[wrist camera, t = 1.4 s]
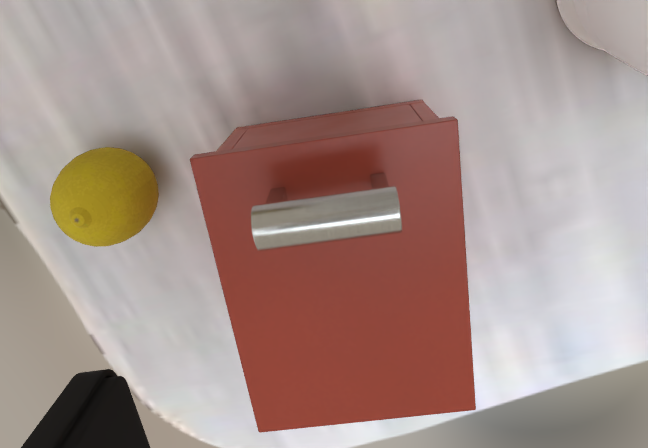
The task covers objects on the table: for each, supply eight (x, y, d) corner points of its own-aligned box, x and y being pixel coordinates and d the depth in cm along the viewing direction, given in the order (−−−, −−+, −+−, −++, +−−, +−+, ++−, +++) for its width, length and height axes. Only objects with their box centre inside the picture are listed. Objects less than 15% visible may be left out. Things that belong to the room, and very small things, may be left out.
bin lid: (193, 154, 24) (154, 193, 19) (454, 115, 24) (486, 145, 18) (260, 422, 30) (244, 508, 25) (472, 399, 29) (501, 484, 24)
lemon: (126, 117, 34) (67, 147, 26) (190, 180, 35) (151, 225, 28) (72, 172, 35) (2, 215, 28) (135, 231, 37) (84, 286, 29)
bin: (235, 127, 34) (198, 170, 25) (422, 99, 33) (455, 133, 24) (278, 325, 39) (260, 421, 30) (440, 306, 38) (472, 399, 29)
